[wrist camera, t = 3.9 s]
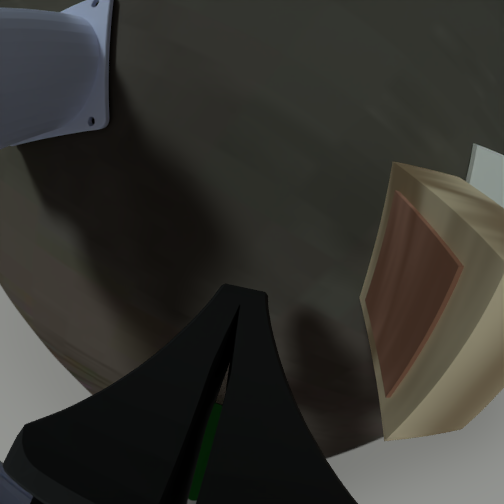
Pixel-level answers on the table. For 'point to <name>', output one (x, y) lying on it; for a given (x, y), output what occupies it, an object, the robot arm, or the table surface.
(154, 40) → the table surface
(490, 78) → the table surface
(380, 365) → the wooden block
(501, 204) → the pale grey mat
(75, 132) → the robot arm
